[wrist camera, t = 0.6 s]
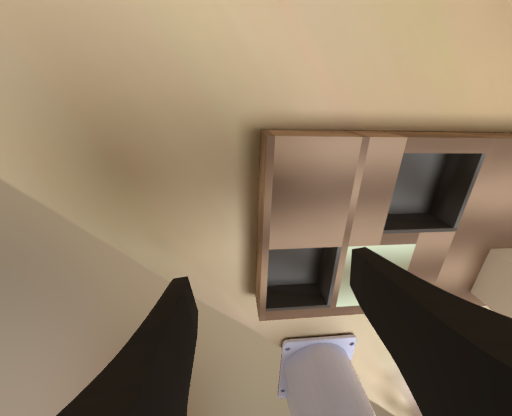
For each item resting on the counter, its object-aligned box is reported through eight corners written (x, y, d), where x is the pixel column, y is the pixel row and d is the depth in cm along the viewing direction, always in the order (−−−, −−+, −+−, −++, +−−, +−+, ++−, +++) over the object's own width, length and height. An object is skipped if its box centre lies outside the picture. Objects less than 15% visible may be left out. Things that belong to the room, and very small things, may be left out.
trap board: (484, 282, 27) (514, 303, 24) (255, 295, 24) (259, 320, 21) (557, 133, 20) (607, 139, 18) (260, 129, 18) (266, 136, 15)
